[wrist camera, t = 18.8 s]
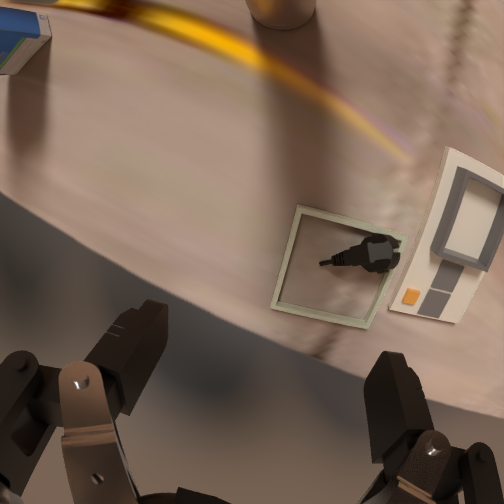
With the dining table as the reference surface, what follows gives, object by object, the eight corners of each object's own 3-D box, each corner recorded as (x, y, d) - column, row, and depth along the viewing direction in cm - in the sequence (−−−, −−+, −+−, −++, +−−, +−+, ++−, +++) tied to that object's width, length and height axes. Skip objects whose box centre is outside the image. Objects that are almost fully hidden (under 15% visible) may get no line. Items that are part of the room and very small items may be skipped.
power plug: (314, 245, 46) (380, 227, 36) (344, 246, 50) (404, 231, 41) (319, 282, 45) (387, 271, 35) (348, 279, 49) (410, 268, 40)
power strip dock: (445, 146, 36) (459, 149, 32) (512, 181, 35) (527, 187, 31) (387, 304, 47) (394, 320, 43) (455, 319, 47) (463, 333, 43)
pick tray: (297, 204, 43) (297, 206, 42) (405, 233, 42) (408, 237, 41) (270, 303, 50) (270, 308, 49) (366, 324, 50) (367, 329, 48)
